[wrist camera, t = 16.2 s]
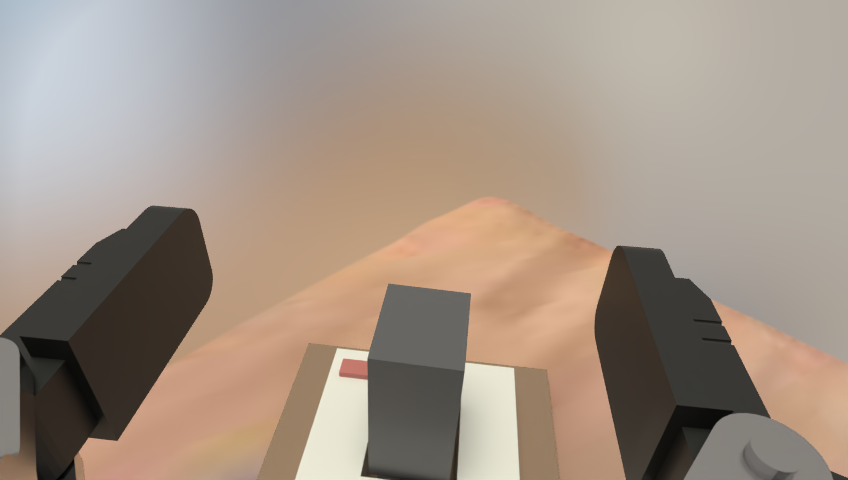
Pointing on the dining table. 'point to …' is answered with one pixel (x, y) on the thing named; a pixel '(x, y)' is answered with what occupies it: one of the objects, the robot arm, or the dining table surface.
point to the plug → (416, 382)
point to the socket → (348, 422)
